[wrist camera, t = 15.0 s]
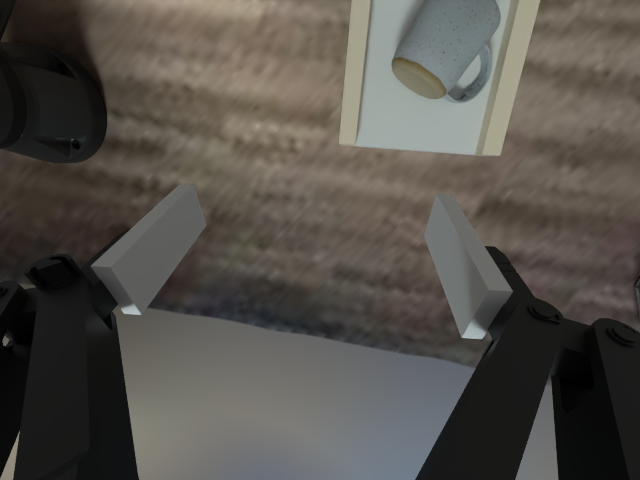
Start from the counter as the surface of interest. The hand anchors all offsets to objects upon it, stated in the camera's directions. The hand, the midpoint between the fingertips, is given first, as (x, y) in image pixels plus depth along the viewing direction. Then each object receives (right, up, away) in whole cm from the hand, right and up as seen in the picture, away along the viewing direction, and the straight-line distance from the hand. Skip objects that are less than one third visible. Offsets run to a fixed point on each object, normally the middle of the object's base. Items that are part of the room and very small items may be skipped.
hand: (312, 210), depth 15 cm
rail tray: (+13, +21, +17) cm, 30 cm away
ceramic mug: (+15, +19, +17) cm, 29 cm away
